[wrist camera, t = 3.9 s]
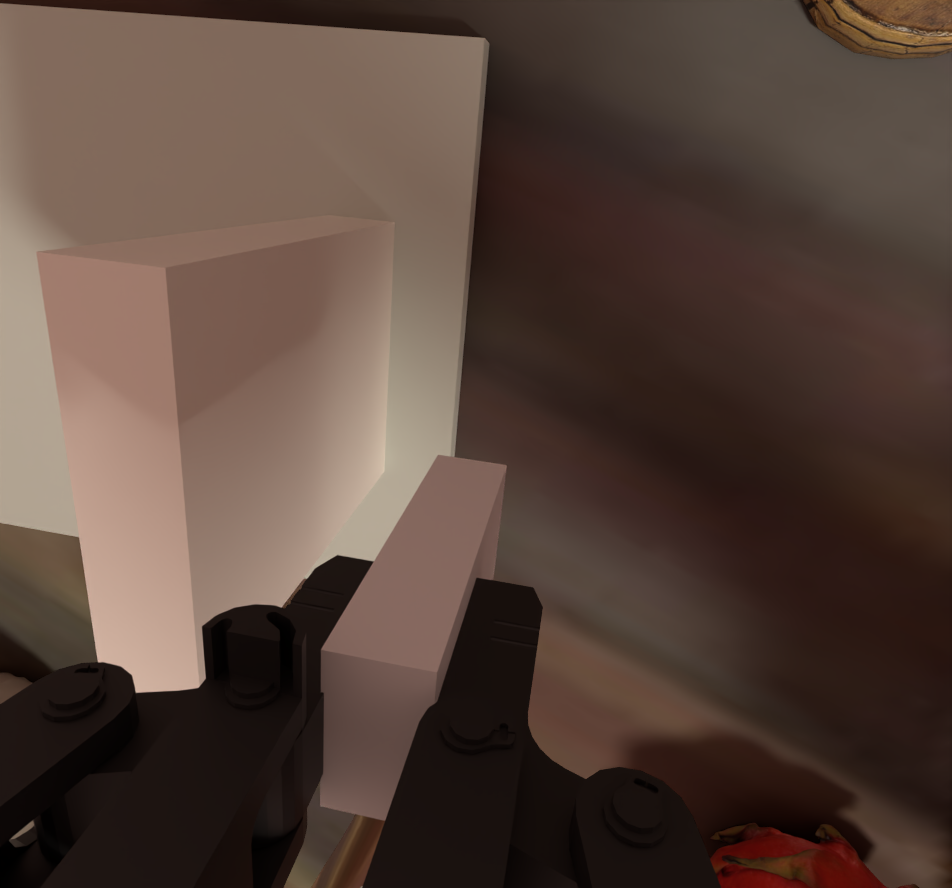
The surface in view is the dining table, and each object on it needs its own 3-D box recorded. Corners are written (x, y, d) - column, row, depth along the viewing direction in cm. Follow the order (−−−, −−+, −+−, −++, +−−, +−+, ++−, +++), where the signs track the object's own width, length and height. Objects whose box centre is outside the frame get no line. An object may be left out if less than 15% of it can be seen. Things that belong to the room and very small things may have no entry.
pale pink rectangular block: (394, 222, 25) (165, 267, 12) (384, 471, 28) (201, 712, 15) (322, 214, 25) (23, 249, 12) (321, 461, 29) (92, 689, 16)
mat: (489, 44, 23) (484, 38, 22) (443, 590, 31) (438, 602, 30) (-125, -1, 26) (-152, -8, 25) (-19, 507, 34) (-36, 516, 33)
